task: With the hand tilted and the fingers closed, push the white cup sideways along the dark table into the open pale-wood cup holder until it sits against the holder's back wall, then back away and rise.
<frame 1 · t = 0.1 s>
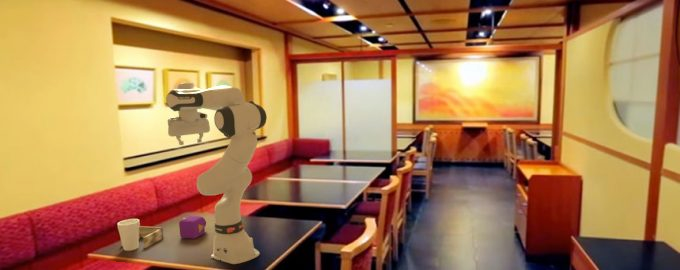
hand: (190, 143, 206), 48 cm above the table, tool pointing down, fingers open, 8 cm apart
cup holder: (142, 241, 208), on the table
foam cup: (131, 248, 200), on the table
toy camera: (194, 235, 215), on the table
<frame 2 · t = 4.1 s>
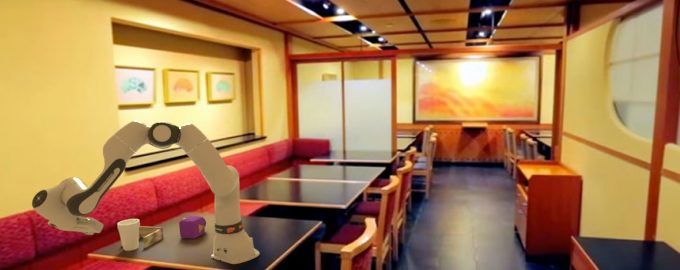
hand: (90, 233, 178), 15 cm above the table, tool tilted 45°, fingers closed
nothing on the table moved.
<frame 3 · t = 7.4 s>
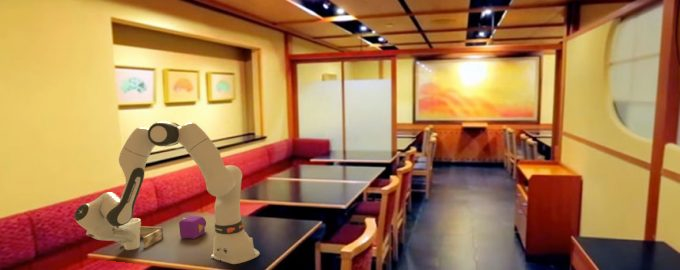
hand: (123, 241, 195), 5 cm above the table, tool tilted 45°, fingers closed, pressing on foam cup
foam cup: (132, 247, 201), on the table, touching gripper
everything else where it was.
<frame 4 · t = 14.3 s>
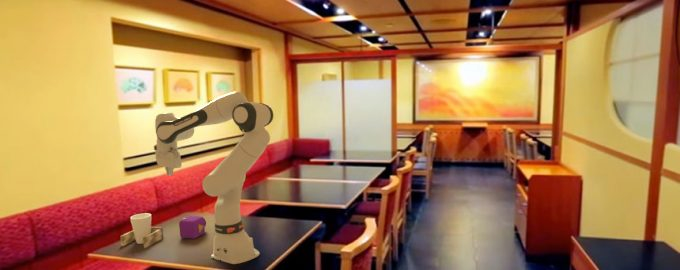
hand: (170, 175, 199), 34 cm above the table, tool pointing down, fingers closed
foam cup: (143, 241, 209), resting in cup holder
everything else where it was.
at the end: foam cup 1.0 cm from the cup holder (horizontally); foam cup tilted 0°; foam cup moved 8.8 cm from its start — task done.
